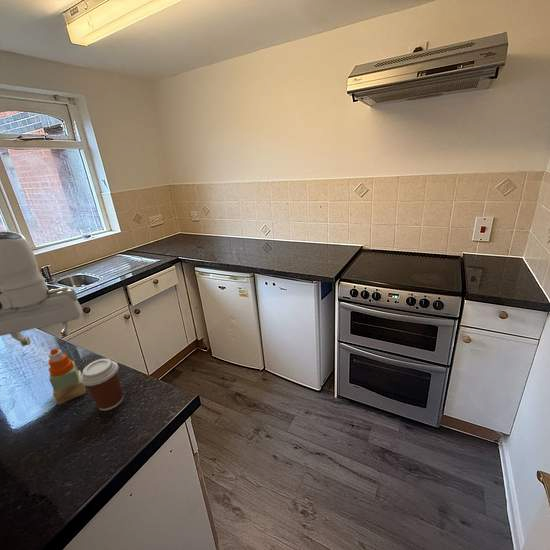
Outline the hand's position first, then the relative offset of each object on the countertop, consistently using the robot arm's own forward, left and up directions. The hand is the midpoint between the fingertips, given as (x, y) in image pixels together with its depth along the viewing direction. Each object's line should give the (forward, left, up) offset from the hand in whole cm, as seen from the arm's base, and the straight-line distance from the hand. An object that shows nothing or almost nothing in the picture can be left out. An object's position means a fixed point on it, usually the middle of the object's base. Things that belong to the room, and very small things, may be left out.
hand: (47, 339), depth 82 cm
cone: (+1, 0, -10) cm, 10 cm away
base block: (0, 0, -18) cm, 18 cm away
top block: (0, 0, -14) cm, 14 cm away
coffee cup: (+12, -10, -19) cm, 24 cm away
